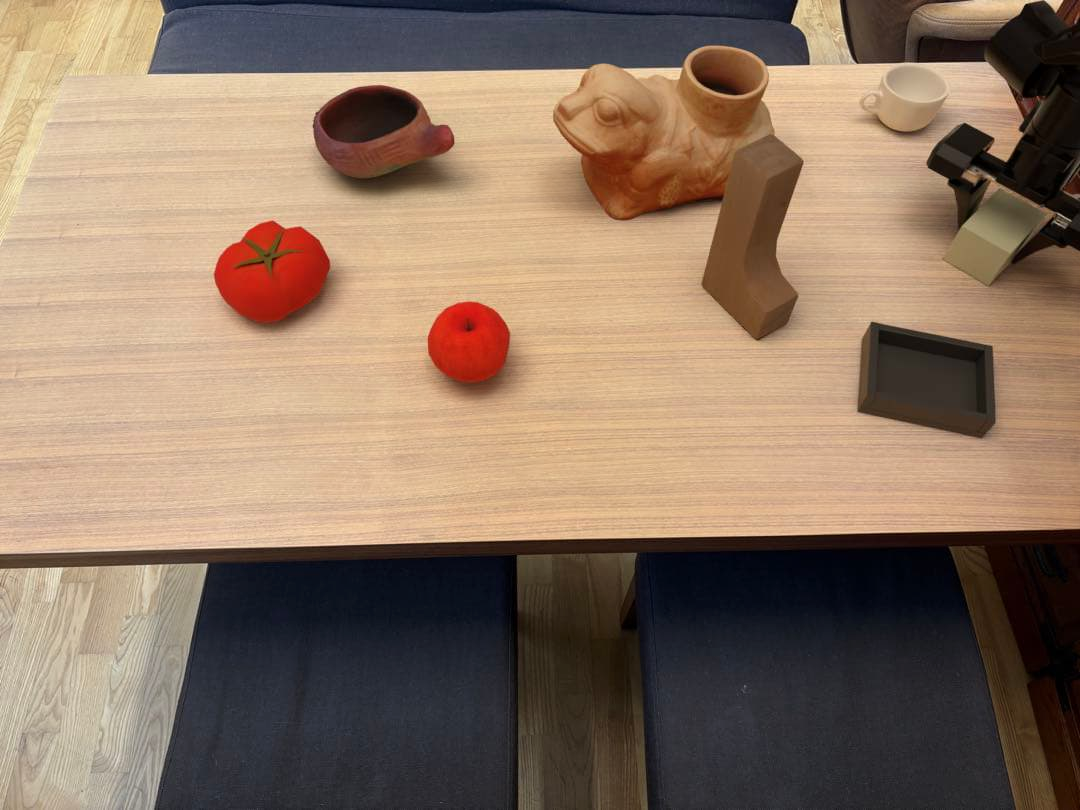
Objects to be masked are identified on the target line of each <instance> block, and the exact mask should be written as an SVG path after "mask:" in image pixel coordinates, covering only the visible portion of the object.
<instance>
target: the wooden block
mask: <svg viewBox="0 0 1080 810" xmlns="http://www.w3.org/2000/svg"><path fill="white" fill-rule="evenodd" d="M804 162H805V161H804V159H803V158H802V157H801V156H799V154H798V153H796V152H795V151H794V150H793V149H791V148H790V147H789V146H788V145H786V144H785V142H783V141H781V139H779V138H778V137H777V136H776V135H775V136H774V135H772V134H769V135H767V136H765V137H763V138H761V139H759V140H757V141H755V142H753V143H750V144H748V145H746V146H744V147H742V148H740V149H738V150H737V151H736V152H735V154H734V158H733V162H732V166H731V169H730V173H729V177H728V181H727V185H726V189H725V193H724V197H723V199H722V200H721V205H720V209H719V212H718V217H717V221H716V224H715V229H714V232H713V236H712V240H711V244H710V248H709V253H708V257H707V260H706V264H705V268H704V272H703V276H702V280H701V286H702V287H703V288H704V289H705V290H706V291H707V292H708V293H709V294H710V295H711V296H712V297H713V298H714V300H716V301H717V302H718V303H719V304H720V305H721V306H722V307H723V308H724V309H725V310H726V311H727V313H729V314H730V315H731V316H732V317H733V318H734V319H735V320H736V321H737V322H738V323H739V324H740V325H741V326H742V327H743V328H744V329H745V331H746V332H748V333H749V334H750V335H751V336H752V337H753V338H754V339H755V340H759V339H761V338H763V337H764V336H766V335H768V334H770V333H771V332H773V331H775V330H776V329H778V328H780V327H782V326H783V325H786V323H788V322H789V320H790V318H791V316H792V313H793V311H794V308H795V306H796V303H797V301H798V298H799V293H798V291H797V290H796V289H795V288H794V287H793V286H792V284H791V283H790V282H789V281H788V280H787V278H786V277H785V276H784V275H783V274H782V273H783V272H782V270H781V267H780V265H779V262H778V258H777V250H778V249H777V246H778V239H779V236H780V233H781V230H782V227H783V224H784V222H785V218H786V216H787V212H788V209H789V207H790V204H791V201H792V198H793V195H794V193H795V189H796V186H797V184H798V181H799V178H800V174H801V172H802V168H803V167H804Z"/></svg>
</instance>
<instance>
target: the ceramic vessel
mask: <svg viewBox="0 0 1080 810" xmlns="http://www.w3.org/2000/svg"><path fill="white" fill-rule="evenodd" d="M769 73H770V72H769V70H768V68H767V65H766V64H765V62H764V61H763V59H761V58H760V57H758V56H757V55H755V54H754V53H753V52H751V51H748V50H745V49H742V48H737V47H733V46H726V45H706V46H701V47H699V48H696V49H695V50H693V51H691V52H690V53H688V55H687V56H686V58H685V60H684V61H683V64H682V68H681V72H680V75H679V79H670V78H667V77H665V76H663V75H660V74H653V75H651V76H649V77H647V78H645V77H639V78H636V77H635V76H634V75H632V74H631V73H630V72H628V71H626V70H625V69H623V68H621V67H619V66H616V65H613V64H611V63H597V64H594V65H591V66H590V67H589V68H588V69H587V70H586V71H585V72H584V73H583V75H582V76H581V78H580V82H579V86H578V87H577V89H576V90H575V91H573V92H572V93H570V94H567V95H565V96H563V97H562V98H561V99H559V100H558V101H557V102H556V104H555V105H554V109H553V113H552V121H553V123H554V124H555V126H556V128H557V130H558V132H559V133H560V135H561V136H562V137H563V138H564V139H565V141H566V142H567V143H568V144H569V145H570V146H571V147H572V148H573V149H574V150H576V151H577V152H578V153H579V154H581V159H580V163H581V168H582V172H583V175H584V179H585V182H586V184H587V186H588V188H589V190H590V192H591V193H592V195H593V197H594V198H595V199H596V201H597V202H598V203H599V205H600V206H601V208H602V209H603V211H604V212H605V213H606V215H608V216H609V217H610V218H612V219H613V220H619V221H629V220H632V219H634V218H636V217H638V216H641V215H644V214H649V213H652V212H657V211H663V210H668V209H671V208H674V207H678V206H681V205H686V204H692V203H694V204H695V203H699V202H704V201H716V200H717V201H723V197H724V193H725V189H726V185H727V181H728V177H729V173H730V169H731V166H732V162H733V158H734V154H735V152H736V151H737V150H738V149H740V148H742V147H744V146H746V145H748V144H750V143H753V142H755V141H757V140H759V139H761V138H763V137H765V136H767V135H769V134H772V135H774V136H775V137H776V134H775V132H776V131H775V128H774V126H773V122H772V117H771V113H770V110H769V108H768V106H767V105H766V103H765V101H763V100H762V98H763V96H764V95H765V92H766V89H767V87H768V86H769V80H770V74H769Z"/></svg>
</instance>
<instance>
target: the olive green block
mask: <svg viewBox="0 0 1080 810" xmlns="http://www.w3.org/2000/svg"><path fill="white" fill-rule="evenodd" d="M1047 216H1048V213H1047V212H1045V211H1043V210H1042V209H1039V208H1037V206H1034V205H1032V204H1030V203H1028V202H1026V201H1025V200H1023V199H1021V198H1019V197H1017V196H1016V195H1014V194H1013V193H1010V192H1008V191H1006V190H1004V189H1003V188H1000V187H999V188H998V189H996V191H994V193H993V194H992V195H991V196H989V198H988V199H987V200H986V201H985V202H983V204H982V205H981V206H979V207H978V210H977V211H976V212H975V213H974V214H973V215H972V216H971V217H970V218H969V219H968V220H967V221H966V222H965V223H964V224H963V225H962V227H961V228H960V230H959V232H957V233H956V235H955V237H954V238H953V240H952V242H951V243H950V245H949V247H948V249H947V251H946V252H945V254H944V255H943V256H942V260H943V261H945V262H948V264H950V265H952V266H953V267H956V268H957V269H958V270H960V271H962V272H963V273H965V274H967V275H969V276H970V277H972V278H973V279H976V280H977V281H980V282H981V283H982V284H984V285H985V286H987V287H989V286H990V285H991V284H992V283H993V282H994V281H995V280H996V278H998V277H999V275H1000V274H1001V273H1002V272H1003V271H1004V270H1005V269H1006V268H1007V267H1008V265H1010V264H1011V261H1012V259H1013V258H1014V256H1015V255H1016V254H1017V253H1018V252H1019V251H1020V250H1021V248H1022V247H1023V246H1024V245H1025V244H1026V243H1027V242H1028V241H1029V240H1030V239H1031V238H1032V237H1033V236H1034V235H1035V233H1036V232H1037V230H1038V228H1039V227H1040V225H1041V224H1042V222H1043V221H1044V219H1045V218H1046V217H1047Z"/></svg>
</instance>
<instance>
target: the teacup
mask: <svg viewBox="0 0 1080 810" xmlns="http://www.w3.org/2000/svg"><path fill="white" fill-rule="evenodd" d="M950 91H951V83H950V80H949V78H947V76H946V75H945V74H944V73H943V72H941V71H940V70H938V69H936V68H935V67H932V66H930V65H928V64H924V63H919V62H900V63H896V64H893V65H891V66H889V67H887V68H886V70H885V71H883V74H882V76H881V79H880V82H879V85H878V88H877V89H872V90H869V91H867V92H865V93H864V94H863V95H862V96H861V98H860V100H859V107H860V108H861V109H862V110H864V111H866V112H868V113H872V114H875V115H877V117H878V119H879V120H880V121H881V122H882V123H883V125H885V126H886V127H887V128H890V129H892V130H894V131H896V132H897V131H898V132H906V133H907V132H915V131H918V130H920V129H922V128H925V127H926V126H928V125H929V124H930V123H931V122H932V121H933V120H934V118H935V117H936V116H937V114H938V113H939V111H940V110H941V108H942V106H943V105H944V103H945V101H946V99H948V96H949V94H950ZM871 96H873V97H875V101H874V105H870V106H868V105H866V104H865V101H866V100H867V99H868V98H869V97H871Z"/></svg>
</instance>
